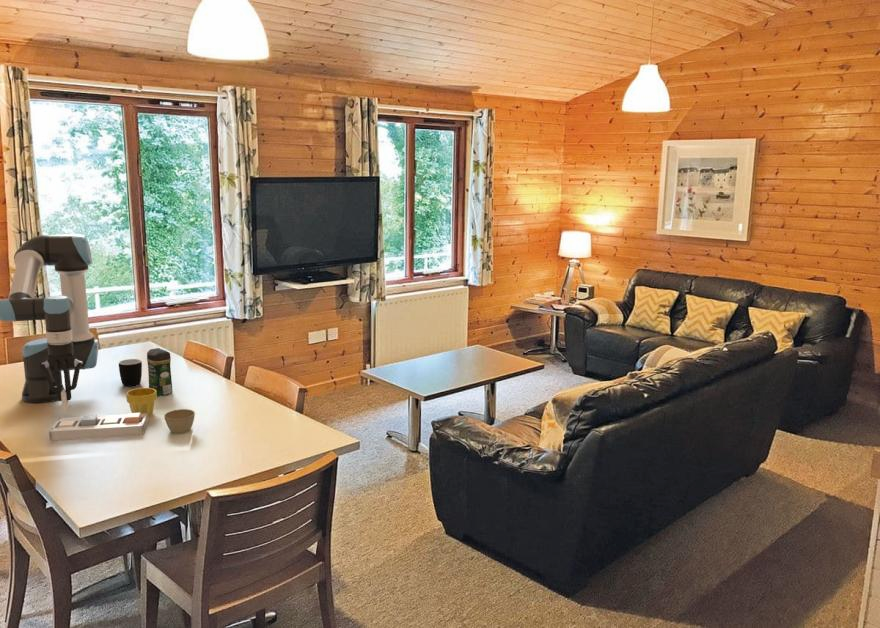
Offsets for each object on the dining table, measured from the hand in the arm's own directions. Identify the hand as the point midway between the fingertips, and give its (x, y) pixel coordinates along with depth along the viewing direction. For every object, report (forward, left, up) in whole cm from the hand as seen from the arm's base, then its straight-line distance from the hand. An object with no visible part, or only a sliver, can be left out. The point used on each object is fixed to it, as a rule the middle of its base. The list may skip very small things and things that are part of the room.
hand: (65, 409), depth 242 cm
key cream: (0, 0, -7) cm, 7 cm away
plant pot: (+22, +15, -10) cm, 28 cm away
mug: (+11, +59, -10) cm, 61 cm away
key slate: (+7, 0, -6) cm, 9 cm away
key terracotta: (+21, 0, -6) cm, 22 cm away
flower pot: (+37, -5, -10) cm, 39 cm away
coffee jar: (+25, +43, -10) cm, 50 cm away
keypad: (+11, 0, -9) cm, 14 cm away
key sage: (+14, 0, -7) cm, 16 cm away
